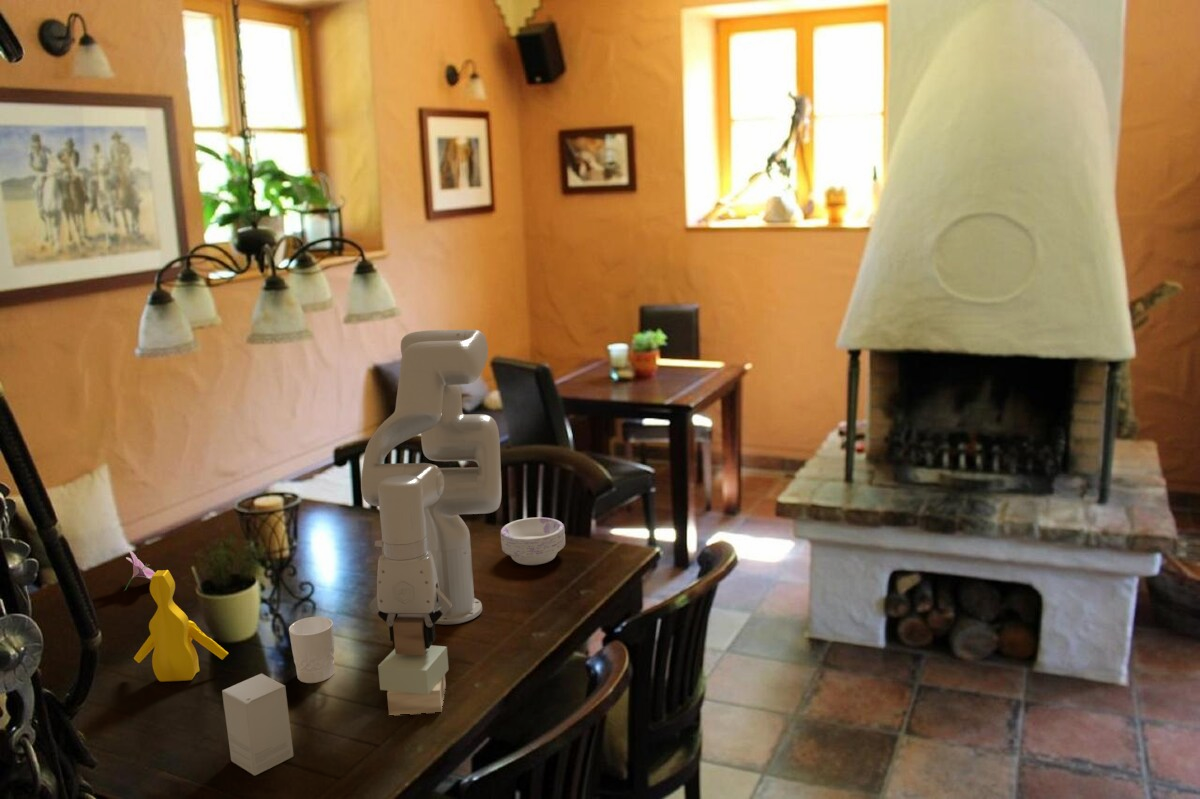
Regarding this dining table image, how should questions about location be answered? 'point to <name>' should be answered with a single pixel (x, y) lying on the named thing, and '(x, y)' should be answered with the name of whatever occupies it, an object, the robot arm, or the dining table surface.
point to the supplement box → (258, 723)
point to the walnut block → (409, 634)
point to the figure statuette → (173, 635)
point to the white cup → (313, 648)
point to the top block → (413, 671)
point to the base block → (417, 701)
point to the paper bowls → (533, 540)
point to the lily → (139, 568)
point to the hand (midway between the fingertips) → (413, 643)
